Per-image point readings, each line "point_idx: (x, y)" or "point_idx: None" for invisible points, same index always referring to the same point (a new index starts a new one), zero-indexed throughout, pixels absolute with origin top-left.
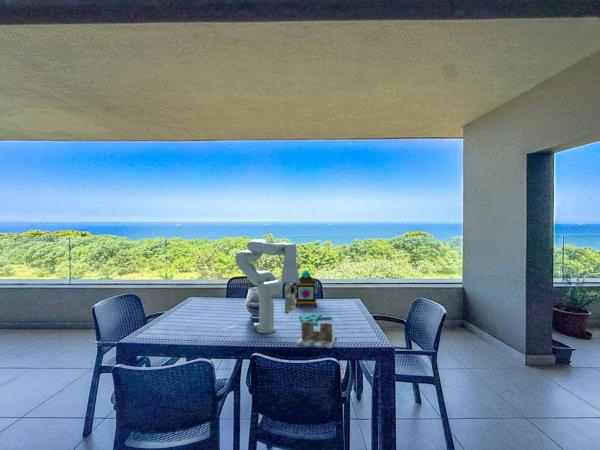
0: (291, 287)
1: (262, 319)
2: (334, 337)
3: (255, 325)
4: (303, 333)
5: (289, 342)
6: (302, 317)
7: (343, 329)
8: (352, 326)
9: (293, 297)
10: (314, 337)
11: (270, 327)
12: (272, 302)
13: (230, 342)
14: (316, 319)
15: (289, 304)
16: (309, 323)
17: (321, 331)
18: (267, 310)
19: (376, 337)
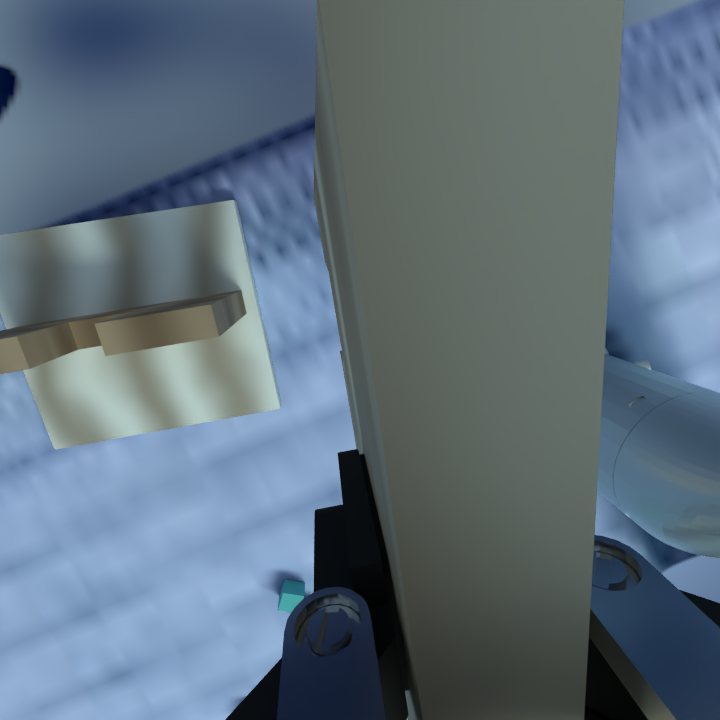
0: (394, 592)
1: (616, 360)
2: (42, 407)
3: (636, 363)
4: (218, 296)
5: (309, 232)
6: None
7: (89, 590)
8: (62, 658)
9: None
10: (139, 307)
11: None
12: (656, 491)
13: (686, 75)
14: None
15: (328, 270)
16: (133, 317)
17: (54, 325)
18: (634, 399)
19: None
